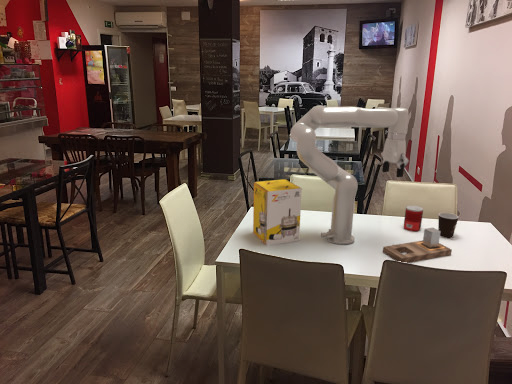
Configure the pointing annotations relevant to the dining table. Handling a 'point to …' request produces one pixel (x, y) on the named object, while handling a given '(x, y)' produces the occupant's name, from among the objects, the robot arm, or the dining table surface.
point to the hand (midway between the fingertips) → (392, 174)
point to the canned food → (413, 218)
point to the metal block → (431, 238)
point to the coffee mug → (447, 224)
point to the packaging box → (276, 211)
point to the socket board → (415, 251)
